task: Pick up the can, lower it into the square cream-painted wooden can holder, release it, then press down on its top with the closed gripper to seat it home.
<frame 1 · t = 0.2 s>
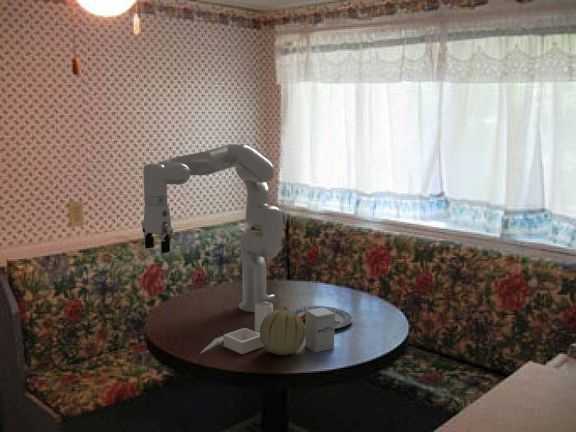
hand: (157, 250, 197), 31 cm above the table, fingers open, 9 cm apart
ceramic plate: (317, 322, 218), on the table
can holder: (243, 346, 194), on the table
can: (263, 334, 205), on the table
supplement box: (319, 348, 193), on the table
cantaloupe: (282, 353, 188), on the table
white long tapered piece: (213, 347, 194), on the table
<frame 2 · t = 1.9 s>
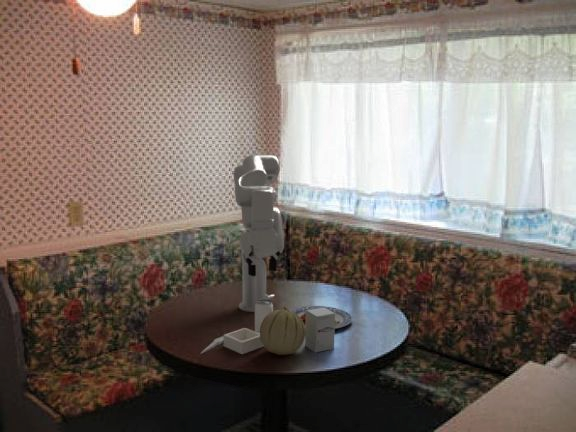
hand: (262, 272, 201), 22 cm above the table, fingers open, 9 cm apart
nothing on the table moved.
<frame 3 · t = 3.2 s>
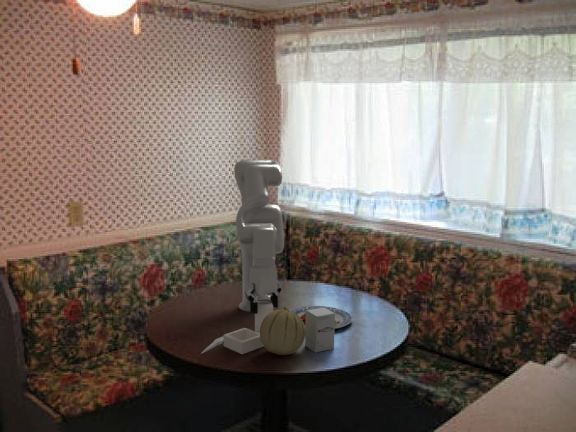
hand: (264, 309, 203), 9 cm above the table, fingers open, 9 cm apart
nothing on the table moved.
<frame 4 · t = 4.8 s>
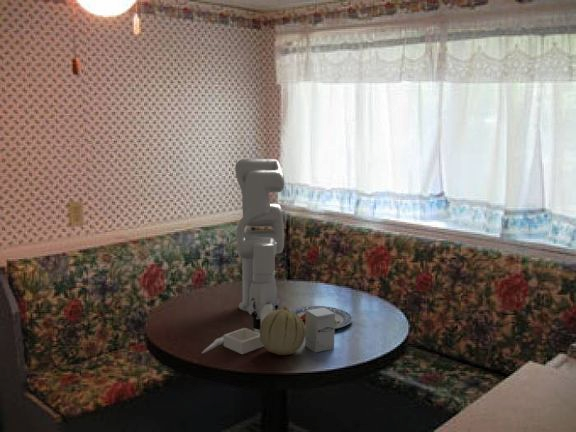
hand: (264, 325, 205), 3 cm above the table, fingers closed on can, 6 cm apart
can: (263, 334, 205), on the table, touching gripper
everything else where it was.
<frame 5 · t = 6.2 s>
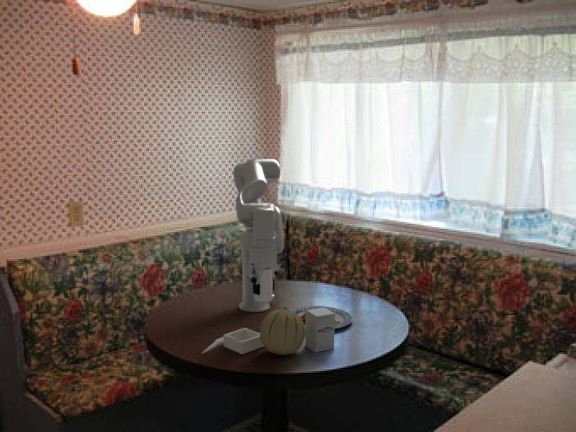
hand: (263, 291, 203), 15 cm above the table, fingers closed on can, 6 cm apart
can: (263, 300, 204), point 12 cm above the table, touching gripper
everything else where it was.
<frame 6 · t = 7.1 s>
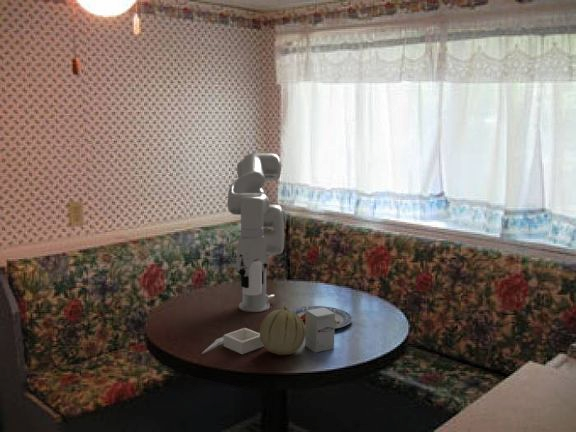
hand: (252, 284, 195), 20 cm above the table, fingers closed on can, 6 cm apart
can: (252, 294, 195), point 17 cm above the table, touching gripper
everything else where it was.
when the fingers open (5 cm above the table, at t = 11.0 s): can drops 1 cm, resting on can holder.
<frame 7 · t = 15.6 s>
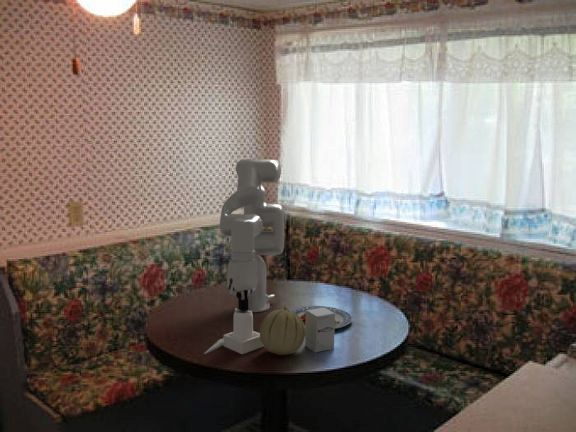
hand: (243, 309, 192), 13 cm above the table, fingers closed
can: (243, 344, 194), point 1 cm above the table, touching can holder, gripper
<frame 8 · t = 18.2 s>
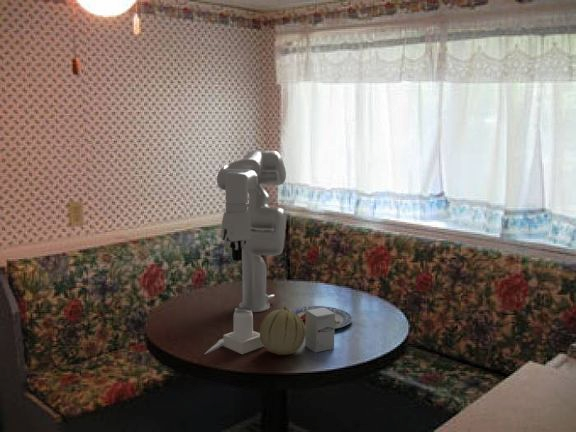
hand: (237, 260, 200), 27 cm above the table, fingers closed
can: (243, 344, 194), point 1 cm above the table, touching can holder
at the end: can 0.2 cm from the can holder (horizontally); can point 0.6 cm above the table; can tilted 0° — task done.
